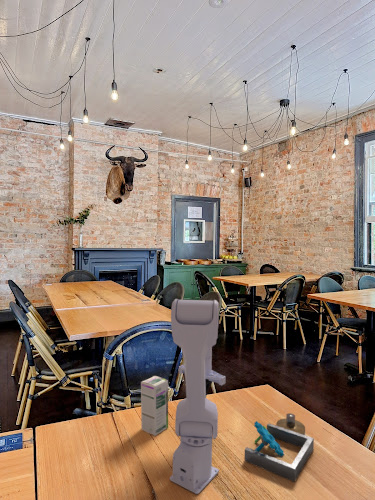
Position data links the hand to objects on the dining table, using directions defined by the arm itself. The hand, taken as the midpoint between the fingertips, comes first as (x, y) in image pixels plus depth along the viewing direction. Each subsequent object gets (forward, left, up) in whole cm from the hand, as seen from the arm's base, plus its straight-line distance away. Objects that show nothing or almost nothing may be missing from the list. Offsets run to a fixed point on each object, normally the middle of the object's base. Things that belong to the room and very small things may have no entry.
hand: (201, 403), depth 97 cm
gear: (+5, -18, -10) cm, 21 cm away
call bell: (+17, -20, -9) cm, 28 cm away
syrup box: (-5, +13, -10) cm, 17 cm away
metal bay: (+5, -21, -9) cm, 24 cm away
